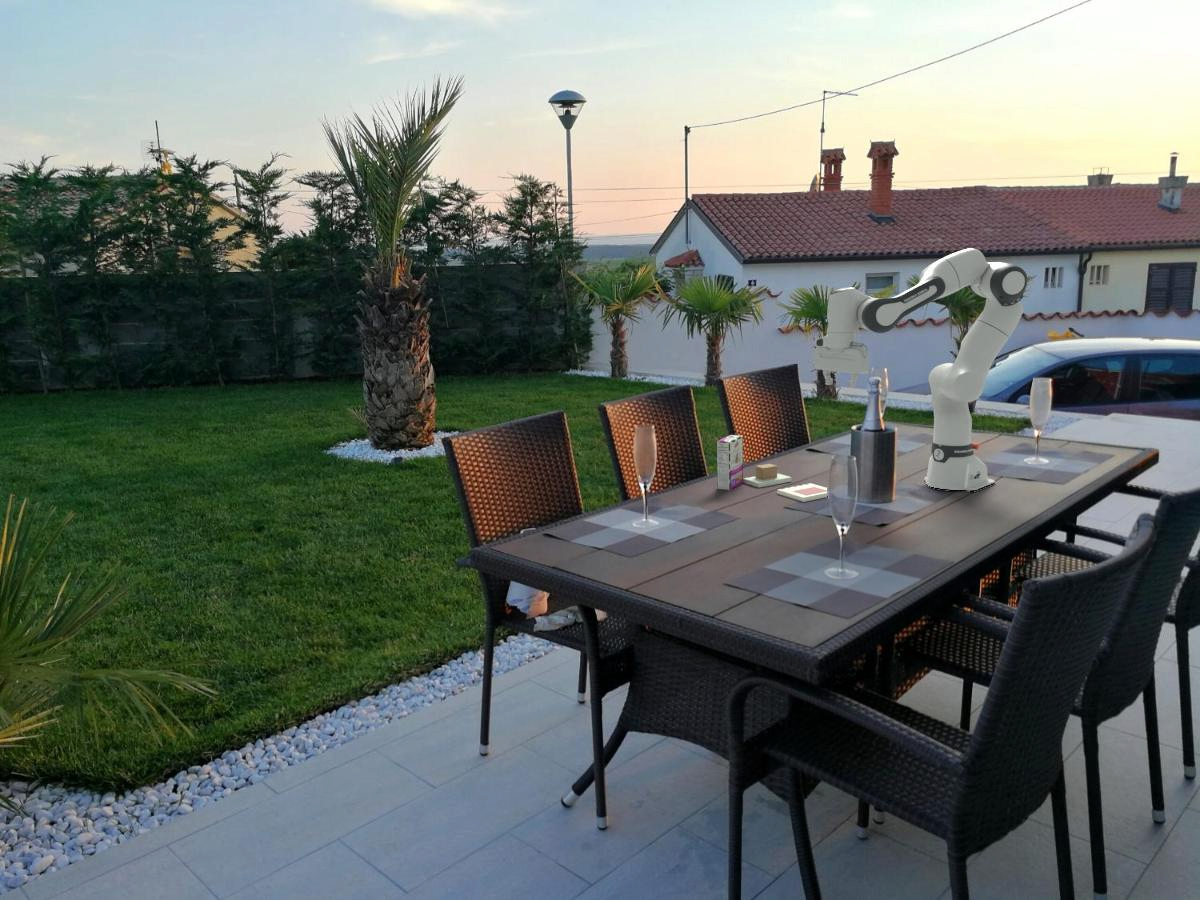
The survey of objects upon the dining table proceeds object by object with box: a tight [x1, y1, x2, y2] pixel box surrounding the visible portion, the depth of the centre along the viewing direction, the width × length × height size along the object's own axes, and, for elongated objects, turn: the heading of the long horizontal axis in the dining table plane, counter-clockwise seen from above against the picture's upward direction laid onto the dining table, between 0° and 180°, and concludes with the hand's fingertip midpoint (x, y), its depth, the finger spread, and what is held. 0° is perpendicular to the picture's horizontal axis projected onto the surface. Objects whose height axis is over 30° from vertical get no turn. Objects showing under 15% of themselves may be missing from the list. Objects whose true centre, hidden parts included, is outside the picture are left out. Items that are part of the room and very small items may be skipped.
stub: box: [742, 463, 792, 488], centre depth 281 cm, size 14×8×6 cm, turn 119°
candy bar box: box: [716, 434, 744, 491], centre depth 276 cm, size 11×5×16 cm, turn 148°
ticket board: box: [776, 482, 828, 503], centre depth 265 cm, size 14×12×2 cm
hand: (840, 386), depth 260 cm, fingers open, 8 cm apart
